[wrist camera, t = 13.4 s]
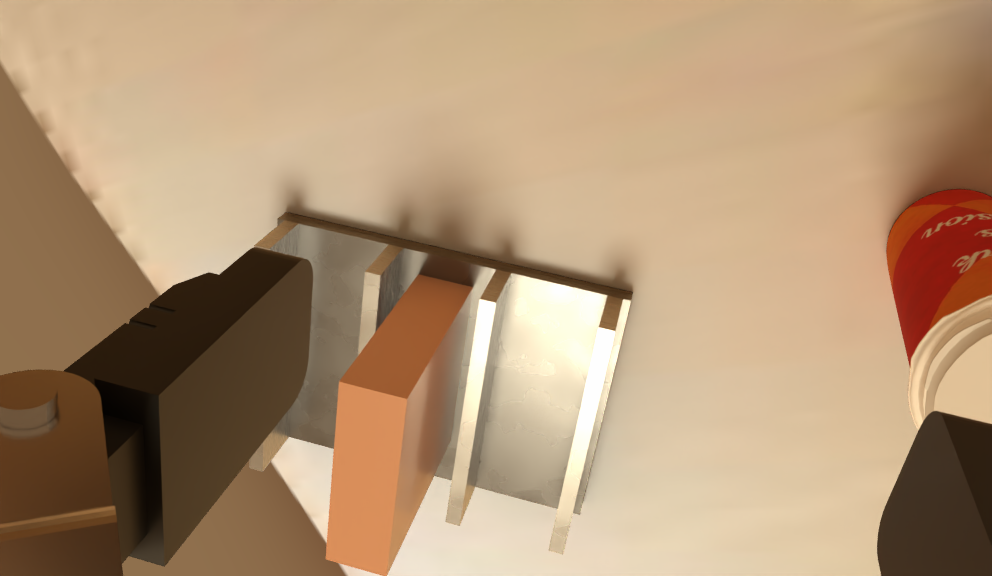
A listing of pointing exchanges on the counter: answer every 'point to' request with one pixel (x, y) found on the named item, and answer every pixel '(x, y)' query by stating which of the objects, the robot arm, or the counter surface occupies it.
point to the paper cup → (945, 302)
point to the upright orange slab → (395, 423)
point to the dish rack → (467, 361)
